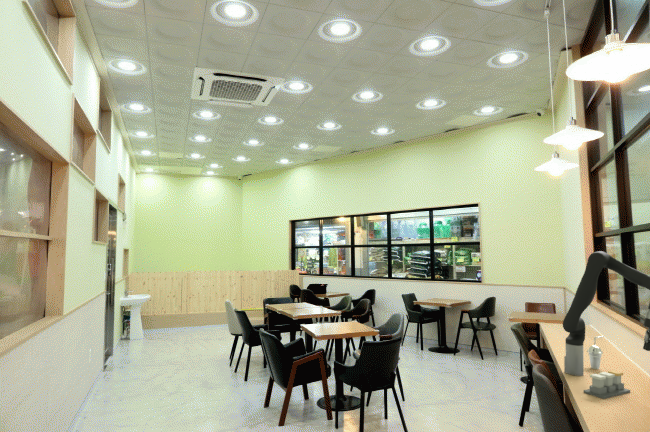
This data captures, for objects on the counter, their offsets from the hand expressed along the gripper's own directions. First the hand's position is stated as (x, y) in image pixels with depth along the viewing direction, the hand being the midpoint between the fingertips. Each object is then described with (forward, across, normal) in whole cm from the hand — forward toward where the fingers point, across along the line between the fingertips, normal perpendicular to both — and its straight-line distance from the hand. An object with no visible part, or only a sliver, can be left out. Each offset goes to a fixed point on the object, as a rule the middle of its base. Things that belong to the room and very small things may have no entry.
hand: (646, 350), depth 224 cm
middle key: (+23, +5, -13) cm, 27 cm away
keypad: (+27, +4, -12) cm, 30 cm away
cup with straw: (+21, -46, -17) cm, 53 cm away
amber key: (+22, -2, -9) cm, 23 cm away
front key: (+25, +12, -16) cm, 32 cm away
